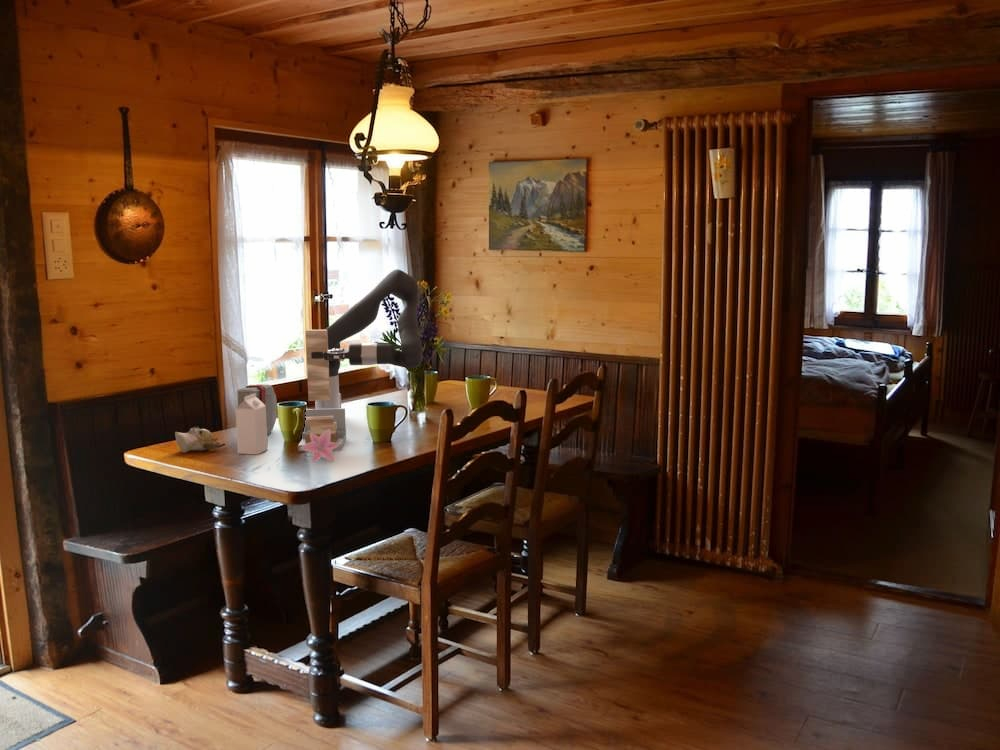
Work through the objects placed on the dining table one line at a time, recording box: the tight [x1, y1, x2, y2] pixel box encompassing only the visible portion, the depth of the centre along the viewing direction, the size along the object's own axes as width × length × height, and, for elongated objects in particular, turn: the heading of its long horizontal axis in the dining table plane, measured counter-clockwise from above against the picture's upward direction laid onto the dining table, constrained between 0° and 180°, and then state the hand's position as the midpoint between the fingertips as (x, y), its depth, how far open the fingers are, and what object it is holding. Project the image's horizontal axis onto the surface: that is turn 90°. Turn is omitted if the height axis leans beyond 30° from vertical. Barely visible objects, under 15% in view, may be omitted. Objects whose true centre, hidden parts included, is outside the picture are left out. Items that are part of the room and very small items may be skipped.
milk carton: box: [234, 393, 269, 455], centre depth 287 cm, size 7×7×19 cm
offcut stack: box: [305, 416, 338, 443], centre depth 294 cm, size 6×10×8 cm, turn 94°
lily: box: [301, 429, 339, 463], centre depth 278 cm, size 11×11×9 cm
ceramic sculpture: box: [174, 425, 226, 454], centre depth 290 cm, size 11×9×15 cm
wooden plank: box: [305, 329, 330, 402], centre depth 297 cm, size 2×7×24 cm, turn 94°
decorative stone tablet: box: [236, 384, 278, 436], centre depth 308 cm, size 19×6×30 cm
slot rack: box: [297, 407, 347, 452], centre depth 296 cm, size 16×14×11 cm
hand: (312, 354), depth 296 cm, fingers closed on wooden plank, 2 cm apart
